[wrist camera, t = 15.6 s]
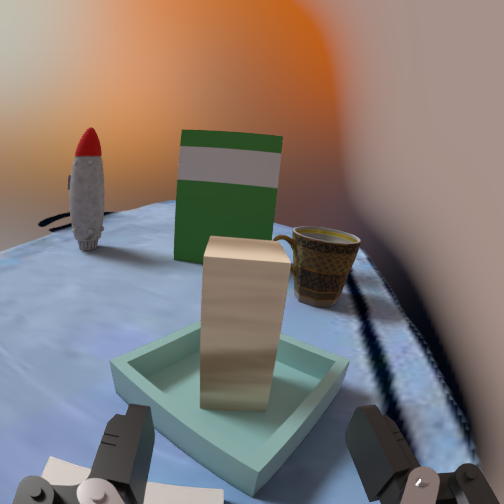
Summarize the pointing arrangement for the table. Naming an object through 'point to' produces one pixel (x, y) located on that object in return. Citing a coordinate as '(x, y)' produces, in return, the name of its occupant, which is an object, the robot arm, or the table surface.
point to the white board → (156, 495)
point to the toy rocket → (87, 191)
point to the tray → (225, 421)
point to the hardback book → (224, 189)
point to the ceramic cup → (321, 263)
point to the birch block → (241, 321)
